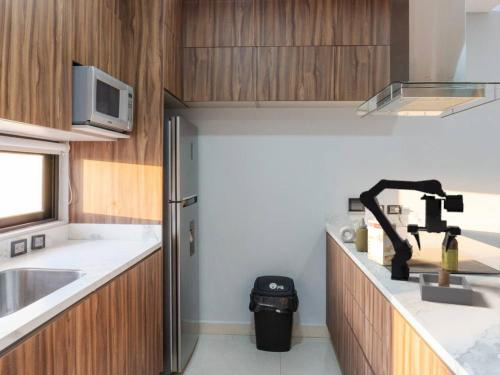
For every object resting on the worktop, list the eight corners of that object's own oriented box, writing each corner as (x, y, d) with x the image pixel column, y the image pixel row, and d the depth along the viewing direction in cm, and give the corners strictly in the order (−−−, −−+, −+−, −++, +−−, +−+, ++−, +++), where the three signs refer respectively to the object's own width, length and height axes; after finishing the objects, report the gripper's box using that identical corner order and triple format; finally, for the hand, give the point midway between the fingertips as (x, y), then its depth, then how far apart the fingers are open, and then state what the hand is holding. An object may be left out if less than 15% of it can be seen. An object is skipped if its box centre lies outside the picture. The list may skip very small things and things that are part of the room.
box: (421, 300, 129) (421, 285, 129) (419, 286, 145) (419, 272, 145) (472, 305, 124) (472, 290, 124) (464, 290, 140) (464, 276, 139)
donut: (355, 242, 236) (355, 226, 235) (355, 243, 233) (355, 226, 232) (339, 241, 238) (339, 225, 238) (339, 242, 235) (338, 226, 235)
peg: (438, 295, 133) (439, 273, 133) (437, 293, 137) (438, 270, 136) (450, 297, 132) (450, 274, 132) (448, 294, 135) (449, 271, 135)
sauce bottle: (443, 269, 169) (444, 224, 168) (459, 271, 165) (460, 225, 164) (439, 272, 164) (440, 226, 163) (456, 274, 160) (456, 227, 159)
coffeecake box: (396, 265, 178) (396, 223, 177) (382, 265, 177) (382, 223, 176) (380, 258, 193) (380, 219, 192) (367, 258, 191) (367, 219, 191)
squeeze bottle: (354, 251, 208) (354, 218, 207) (355, 249, 216) (355, 217, 215) (369, 252, 205) (369, 219, 204) (370, 249, 213) (370, 217, 212)
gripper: (407, 212, 146) (406, 253, 147) (462, 214, 138) (462, 257, 139) (407, 210, 156) (407, 248, 157) (459, 211, 149) (459, 251, 149)
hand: (432, 251), depth 150 cm, fingers open, 9 cm apart
